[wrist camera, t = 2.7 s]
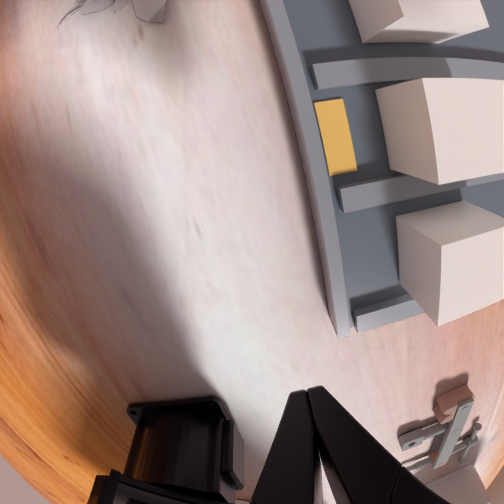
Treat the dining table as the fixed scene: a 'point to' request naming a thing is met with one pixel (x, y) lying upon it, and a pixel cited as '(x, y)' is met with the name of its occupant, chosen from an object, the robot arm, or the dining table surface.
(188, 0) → the dining table surface
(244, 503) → the supplement box
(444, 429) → the clamp
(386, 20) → the beige block
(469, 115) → the beige block
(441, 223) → the white block
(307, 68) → the grey tray
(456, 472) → the lumpy-topped squat cylinder
